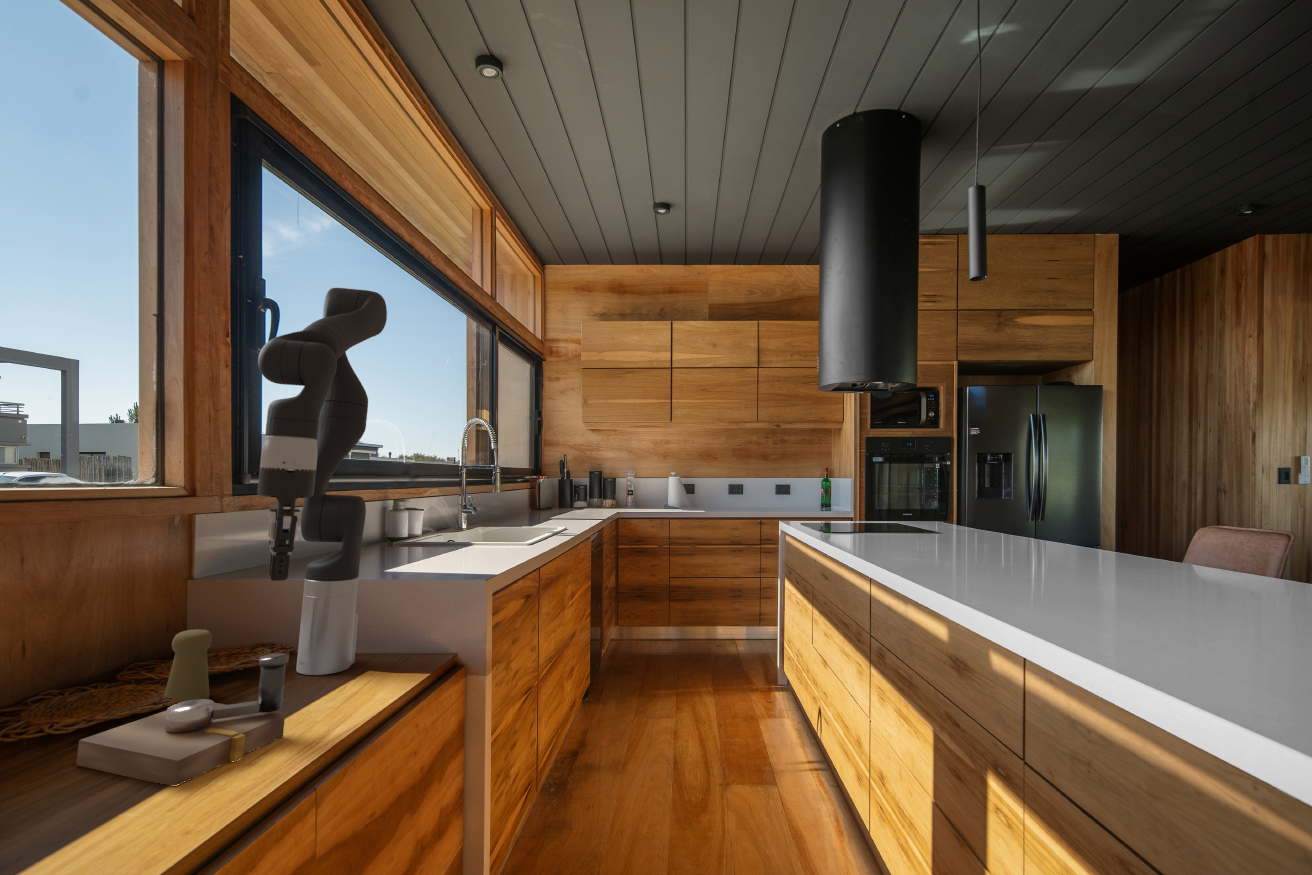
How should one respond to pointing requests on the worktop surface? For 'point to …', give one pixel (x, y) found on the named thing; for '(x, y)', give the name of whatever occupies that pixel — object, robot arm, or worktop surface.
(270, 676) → the metal lever handle
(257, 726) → the stand
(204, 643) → the olive tapered upright piece
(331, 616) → the robot arm
